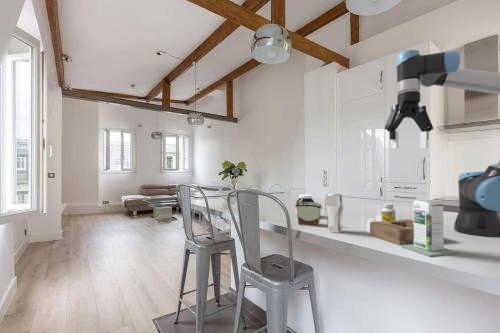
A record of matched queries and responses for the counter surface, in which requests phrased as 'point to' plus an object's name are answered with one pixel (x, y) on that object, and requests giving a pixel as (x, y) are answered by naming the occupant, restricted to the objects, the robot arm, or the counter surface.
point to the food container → (308, 213)
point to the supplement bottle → (388, 212)
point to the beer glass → (334, 212)
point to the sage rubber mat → (429, 253)
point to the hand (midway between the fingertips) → (409, 148)
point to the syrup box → (428, 225)
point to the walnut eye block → (394, 231)
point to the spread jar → (304, 199)
